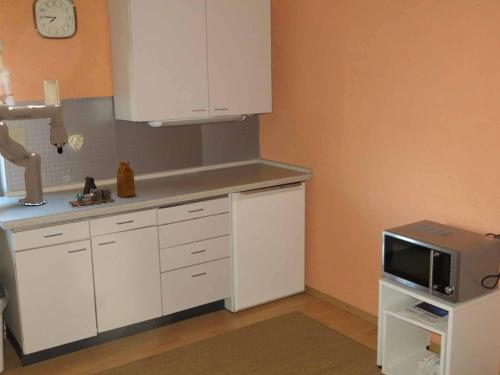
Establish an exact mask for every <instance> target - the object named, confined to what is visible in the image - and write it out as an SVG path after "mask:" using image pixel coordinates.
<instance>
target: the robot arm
mask: <svg viewBox="0 0 500 375" xmlns="http://www.w3.org/2000/svg"><path fill="white" fill-rule="evenodd" d="M38 119H40V120H41V119H50V122H48V126H50V127H49V142H50V143H49V144H50V146H54V147H56V149H57V150H56V152H57V154H58V155H63V153H64V149H63V148H64V146H65V145H68V144H69V136H68V131H67V127H66V126H65V122H64V110H63V105H62V104H59V103H56V104H41V105H32V104H16V105H0V155H1V157H2V158H3V159H5V160H7V161H8V162H10V163H11V164H14V165H15V166H17V167H20V168H25V169H24V173H23V177H24V178H23V179H24V185H25V186H24V188H25V196H24V198H19V199H18V203H23V204H24V203H25V202H26V203H28V204H29V203H31V204H36V203H38V204H40V203H41V202H42V203H44V202H43V201H44V200H45V199H44V192H43V191H44V190H43V180H42V172H41V171H42V170H41V169H42V157H41V155H40V154H39V153H38V152H36V151H29V150H27V149H26V148H25V146H24V145H22V144H21V143H19V142H17V141H16V140H14V139H13V138H12V137H10V134H9V127H8V123H6V122H5V121H8V122H9V121H25V120H28V121H29V120H38ZM46 201H47V200H46ZM46 201H45V202H46Z"/></svg>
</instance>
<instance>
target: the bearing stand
mask: <svg viewBox="0 0 500 375" xmlns="http://www.w3.org/2000/svg"><path fill="white" fill-rule="evenodd" d="M111 190H112V189H111V188H109V187H100V188H97V189H90V194H94V197H93V198H86V199H82V201H78V200H77V199H76V200H72V201H68V204H69V203H70V204H71V205H72V206H74V207H78V206H85V207H87V206H86V205H92V206H95V205H94V204H98V205H102V204H101V203H104V204H108V203H107V202H111V203H115V202H114V201H115V199H114V198H112V191H111ZM101 192H103V195H104V196H101ZM71 205H70V206H71ZM72 206H71V207H72ZM74 207H73V208H74Z"/></svg>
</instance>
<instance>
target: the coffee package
mask: <svg viewBox="0 0 500 375" xmlns="http://www.w3.org/2000/svg"><path fill="white" fill-rule="evenodd" d="M129 165H130V162H128V161H124V160H122V159H121V160H120V162H119V165H118V168H117V171H116V172H117V173H116V191H117V196H119V197H120V198H127V197H133V196H135V195H136V185H135V173H134V171H133V170H132V168H131V167H130V166H129Z"/></svg>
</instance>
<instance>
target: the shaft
mask: <svg viewBox="0 0 500 375" xmlns="http://www.w3.org/2000/svg"><path fill="white" fill-rule="evenodd" d="M101 196H104V195H103V192H101ZM93 197H94V194H91V193H90V194H86V195H83V193H77V194H76V201H77V200H78V201H82V200H84V199H90V198H93Z"/></svg>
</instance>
